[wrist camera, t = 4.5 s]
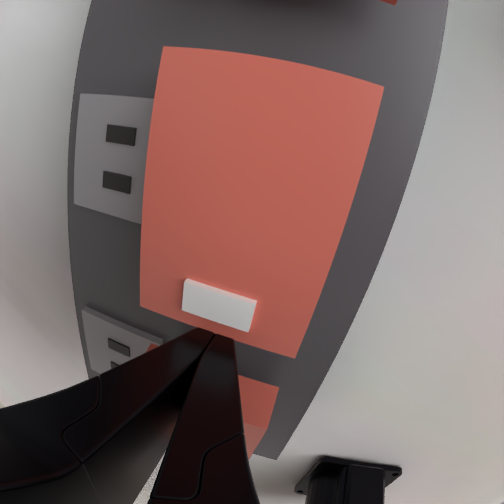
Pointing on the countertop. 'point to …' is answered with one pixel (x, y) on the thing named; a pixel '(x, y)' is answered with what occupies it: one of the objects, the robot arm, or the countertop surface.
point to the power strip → (136, 145)
